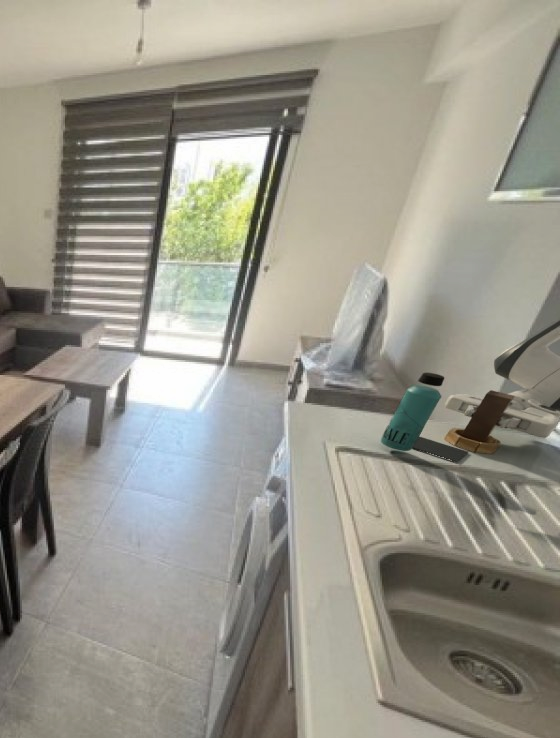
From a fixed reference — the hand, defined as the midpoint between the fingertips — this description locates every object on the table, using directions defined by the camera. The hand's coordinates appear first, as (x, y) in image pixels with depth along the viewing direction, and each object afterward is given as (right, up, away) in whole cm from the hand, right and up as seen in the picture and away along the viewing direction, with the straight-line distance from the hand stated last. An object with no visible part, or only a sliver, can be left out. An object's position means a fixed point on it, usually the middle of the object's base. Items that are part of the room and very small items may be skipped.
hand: (484, 418), depth 120 cm
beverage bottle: (-24, -8, -1) cm, 25 cm away
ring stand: (0, -7, +4) cm, 8 cm away
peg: (+1, -7, +4) cm, 8 cm away
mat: (-12, -8, +1) cm, 14 cm away
